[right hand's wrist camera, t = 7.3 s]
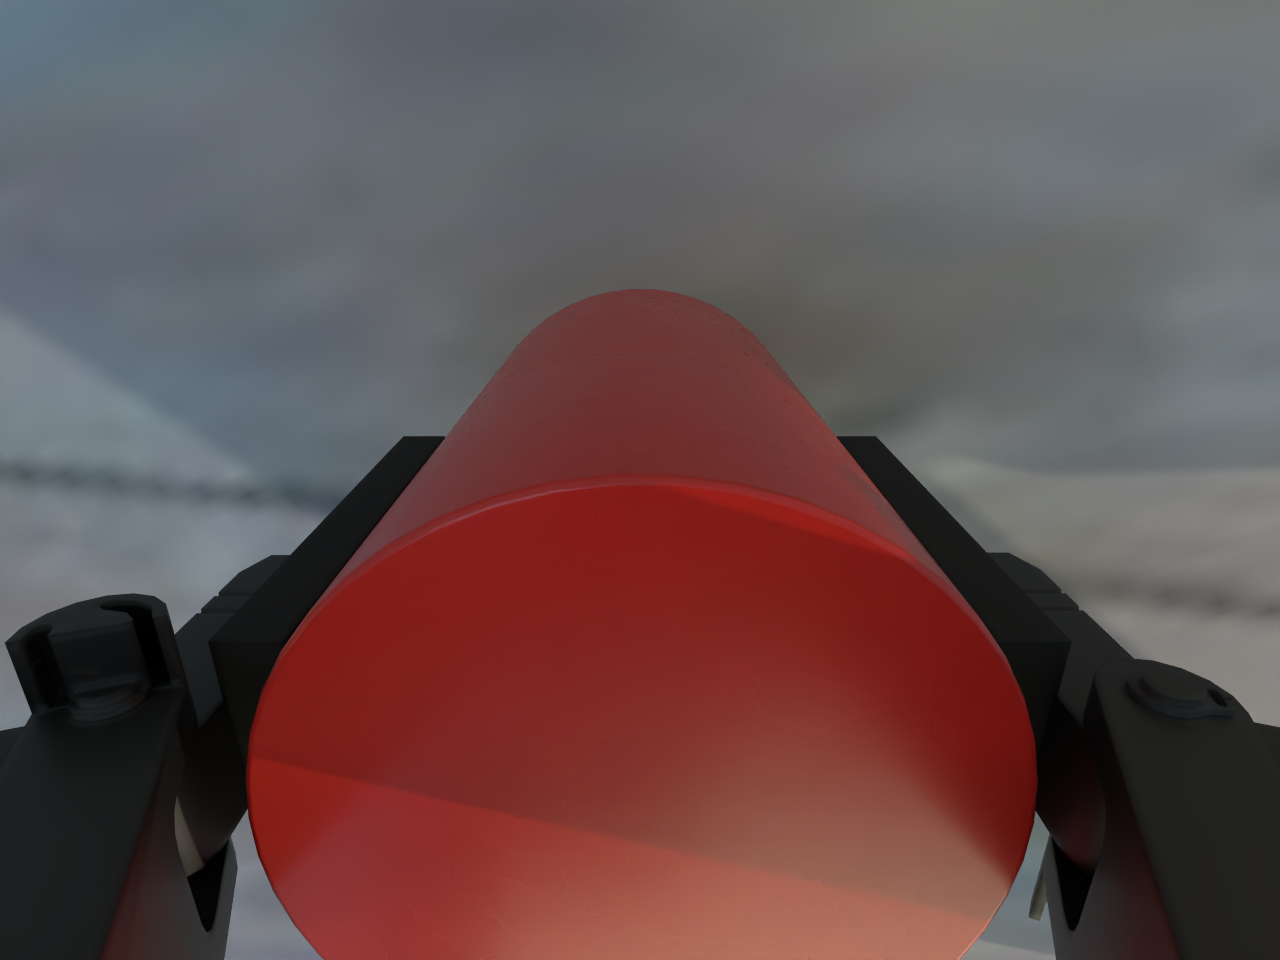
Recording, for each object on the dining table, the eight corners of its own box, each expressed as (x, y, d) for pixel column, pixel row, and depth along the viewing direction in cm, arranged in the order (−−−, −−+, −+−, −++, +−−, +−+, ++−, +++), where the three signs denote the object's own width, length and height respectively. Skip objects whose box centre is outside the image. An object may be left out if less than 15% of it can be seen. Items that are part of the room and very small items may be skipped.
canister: (425, 376, 16) (64, 691, 6) (721, 228, 15) (890, 309, 5) (575, 625, 18) (496, 1149, 8) (840, 514, 17) (1120, 965, 7)
